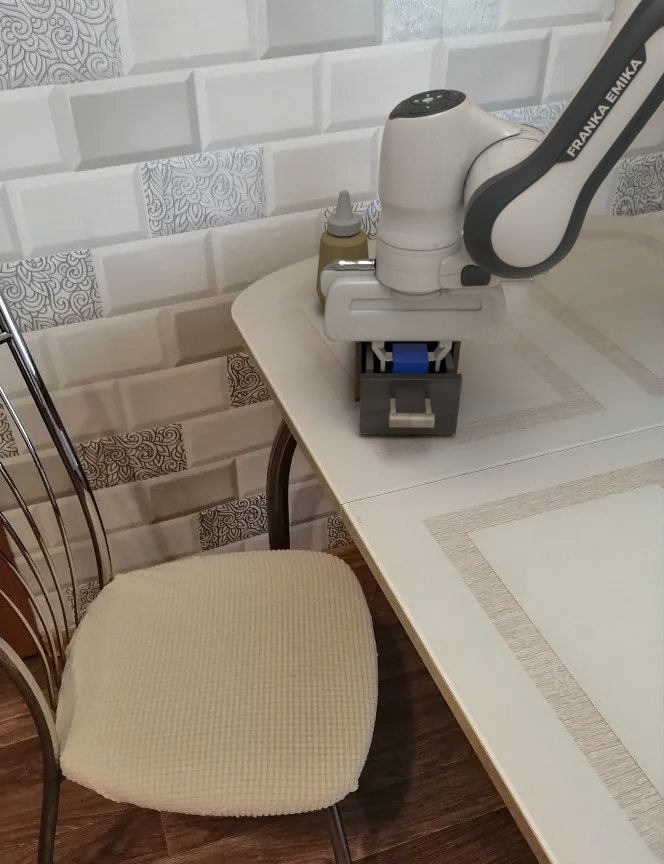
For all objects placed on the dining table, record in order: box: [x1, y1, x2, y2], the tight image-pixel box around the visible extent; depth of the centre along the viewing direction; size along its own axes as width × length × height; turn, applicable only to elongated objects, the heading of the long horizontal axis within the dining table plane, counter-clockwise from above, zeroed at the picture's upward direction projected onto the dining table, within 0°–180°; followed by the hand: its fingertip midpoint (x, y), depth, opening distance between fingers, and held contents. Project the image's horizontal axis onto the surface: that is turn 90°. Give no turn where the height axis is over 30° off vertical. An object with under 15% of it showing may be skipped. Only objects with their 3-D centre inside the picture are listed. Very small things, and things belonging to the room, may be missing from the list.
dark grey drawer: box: [358, 342, 463, 435], centre depth 96 cm, size 18×11×8 cm, turn 177°
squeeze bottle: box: [315, 190, 370, 313], centre depth 113 cm, size 8×8×18 cm
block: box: [391, 344, 429, 374], centre depth 94 cm, size 4×4×4 cm
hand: (409, 369), depth 94 cm, fingers closed on block, 4 cm apart
